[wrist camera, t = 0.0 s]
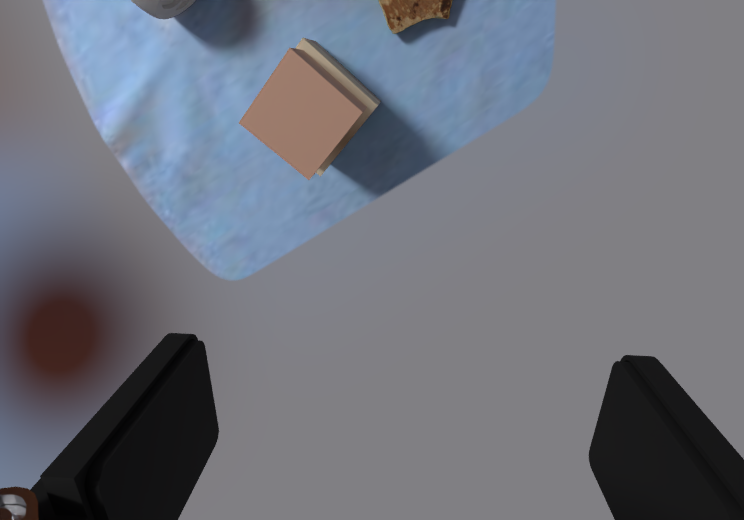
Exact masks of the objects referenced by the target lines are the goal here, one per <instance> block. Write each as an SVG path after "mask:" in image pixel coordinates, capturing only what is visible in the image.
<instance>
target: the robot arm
mask: <svg viewBox="0 0 744 520" xmlns="http://www.w3.org/2000/svg"><path fill="white" fill-rule="evenodd" d="M218 433H219V428H218V422H217V416H216V410H215V403H214V398H213V392H212V385H211V380H210V374H209V368H208V362H207V356H206V350H205V345H204V343H203V342H202V341H198V339H197V337H196V335H194V334H178V333H169V334H167V335H166V336H165V337H164V338H163V339H162V341H161V342H160V343H159V344H158V345H157V346H156V347H155V348H154V349H153V351H152V352H151V353H150V354H149V355H148V356H147V357H146V359H145V360H144V361H143V362H142V363H141V364H140V365H139V367H137V369H136V370H135V371H134V372H133V373H132V374H131V375H130V376H129V378H128V379H127V380H126V381H125V382H124V383H123V384H122V385H121V386H120V387H119V389H118V390H117V391H116V392H115V393H114V394H113V395H112V396H111V397H110V399H109V400H108V401H107V402H106V403H105V404H104V405H103V406H102V408H101V409H100V410H99V411H98V412H97V413H96V414H95V415H94V416H93V418H92V419H91V420H90V421H89V422H88V423H87V424H86V425H85V427H84V428H83V429H82V430H81V431H80V432H79V433H78V434H77V435H76V437H75V438H74V439H73V440H72V441H71V442H70V443H69V444H68V446H67V447H66V448H65V449H64V450H63V451H62V452H61V453H60V454H59V456H58V457H57V458H56V459H55V460H54V461H53V462H52V463H51V464H50V466H49V467H48V468H47V469H46V470H45V471H44V472H43V473H42V475H41V476H40V477H41V479H40V480H39V481H38V482H37V483H36V484H35V485H34V486H33V487H32V489H31V490H29V489H27V488H22V487H8V488H1V489H0V520H178V518H179V516H180V514H181V512H182V510H183V508H184V506H185V504H186V502H187V500H188V498H189V496H190V494H191V493H192V490H193V489H194V487H195V484H196V483H197V481H198V479H199V477H200V475H201V473H202V471H203V469H204V467H205V465H206V463H207V461H208V459H209V457H210V455H211V453H212V451H213V449H214V447H215V445H216V442H217V439H218ZM589 462H590V466H591V469H592V471H593V473H594V475H595V478H596V480H597V482H598V484H599V486H600V488H601V491H602V493H603V495H604V497H605V499H606V502H607V504H608V506H609V508H610V510H611V512H612V514H613V517H614V519H615V520H744V460H743V458H742V457H741V456H740V455H739V453H738V452H737V451H736V450H735V449H734V448H733V446H732V445H731V444H730V443H729V442H728V441H727V439H726V438H725V437H724V436H723V435H722V434H721V433H720V431H719V430H718V429H717V428H716V427H715V426H714V424H713V423H712V422H711V421H710V420H709V419H708V418H707V416H706V415H705V414H704V413H703V412H702V411H701V409H700V408H699V407H698V406H697V405H696V404H695V402H694V401H693V400H692V399H691V398H690V396H689V395H688V394H687V393H686V392H685V391H684V389H683V388H682V387H681V386H680V385H679V384H678V383H677V381H676V380H675V379H674V378H673V377H672V376H671V374H670V373H669V372H668V371H667V370H666V369H665V367H664V366H663V365H662V364H661V363H660V362H659V361H658V359H656V358H655V357H651V356H633V355H626V356H623V358H622V359H621V361H620V362H619V361H617V362H615V363H614V364H613V366H612V370H611V373H610V378H609V381H608V384H607V388H606V392H605V396H604V399H603V403H602V406H601V410H600V414H599V417H598V421H597V425H596V428H595V432H594V436H593V439H592V443H591V446H590V450H589Z"/></svg>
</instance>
